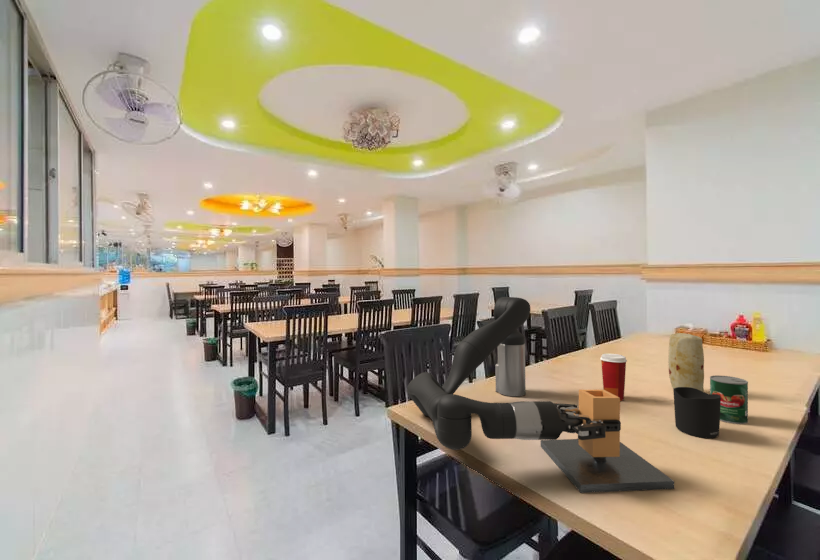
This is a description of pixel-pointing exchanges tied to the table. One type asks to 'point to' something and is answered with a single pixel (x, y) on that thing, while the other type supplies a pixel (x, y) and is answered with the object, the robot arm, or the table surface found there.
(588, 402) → the tan rectangular holder
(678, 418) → the pen holder
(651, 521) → the table surface
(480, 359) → the robot arm
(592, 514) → the table surface
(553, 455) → the shaft stand
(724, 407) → the canned tomato
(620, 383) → the paper cup
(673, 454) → the table surface
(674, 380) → the food model
